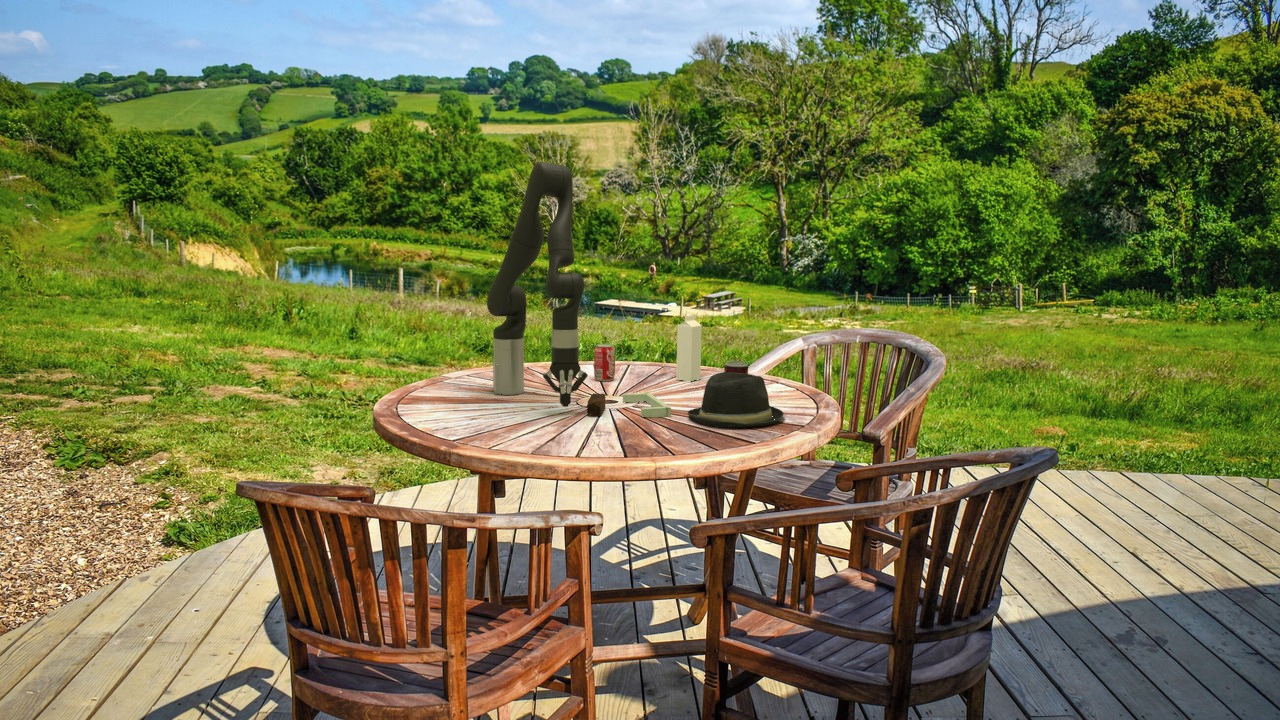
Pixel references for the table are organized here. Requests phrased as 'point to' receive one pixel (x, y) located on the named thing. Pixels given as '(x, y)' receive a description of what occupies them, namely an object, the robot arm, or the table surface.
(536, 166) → the robot arm
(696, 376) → the milk
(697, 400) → the table surface
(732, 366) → the soda can
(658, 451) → the table surface
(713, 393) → the fedora
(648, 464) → the table surface
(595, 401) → the brick
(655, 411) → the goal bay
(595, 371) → the soda can
